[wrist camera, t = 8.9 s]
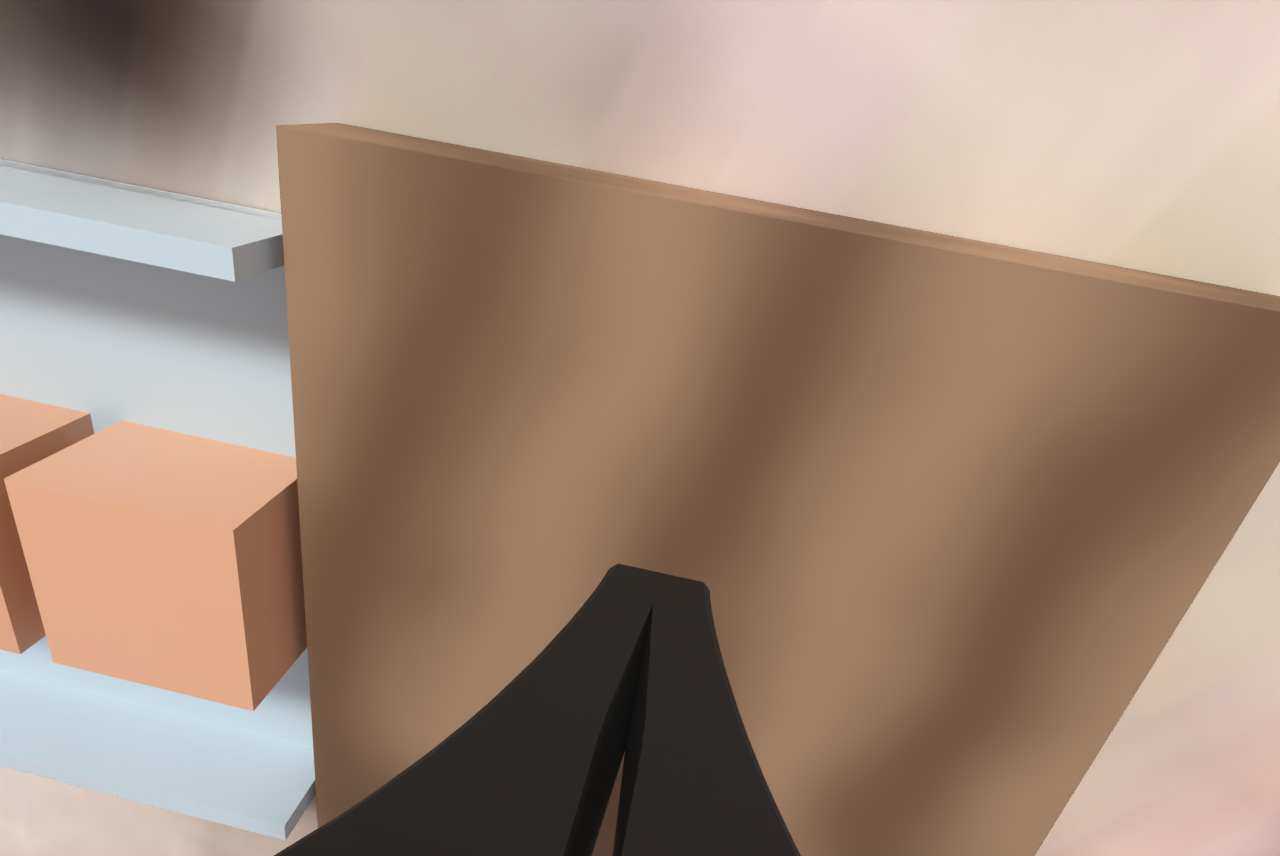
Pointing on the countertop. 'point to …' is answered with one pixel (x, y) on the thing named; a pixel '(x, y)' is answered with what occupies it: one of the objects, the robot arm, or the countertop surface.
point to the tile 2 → (166, 560)
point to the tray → (163, 398)
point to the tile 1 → (4, 444)
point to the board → (751, 473)
